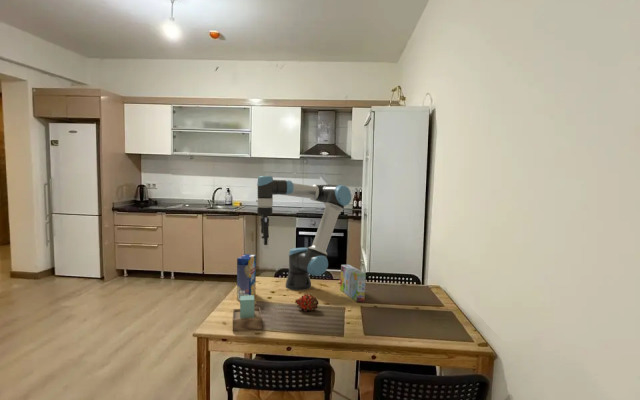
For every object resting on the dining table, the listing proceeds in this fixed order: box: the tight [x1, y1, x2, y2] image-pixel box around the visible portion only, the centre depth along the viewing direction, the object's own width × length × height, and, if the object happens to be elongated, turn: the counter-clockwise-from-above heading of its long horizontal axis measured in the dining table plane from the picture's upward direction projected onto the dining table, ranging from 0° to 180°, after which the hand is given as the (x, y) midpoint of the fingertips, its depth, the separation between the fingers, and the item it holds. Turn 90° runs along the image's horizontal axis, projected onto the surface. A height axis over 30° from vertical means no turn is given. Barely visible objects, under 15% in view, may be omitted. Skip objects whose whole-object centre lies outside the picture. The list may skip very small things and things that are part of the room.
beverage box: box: [236, 253, 257, 301], centre depth 192 cm, size 7×11×22 cm, turn 174°
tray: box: [232, 307, 263, 332], centre depth 157 cm, size 12×12×5 cm
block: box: [239, 295, 255, 319], centre depth 156 cm, size 6×6×8 cm
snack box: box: [339, 264, 367, 302], centre depth 198 cm, size 21×6×15 cm, turn 22°
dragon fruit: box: [294, 293, 320, 312], centre depth 175 cm, size 8×8×12 cm
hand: (264, 248), depth 180 cm, fingers open, 13 cm apart
